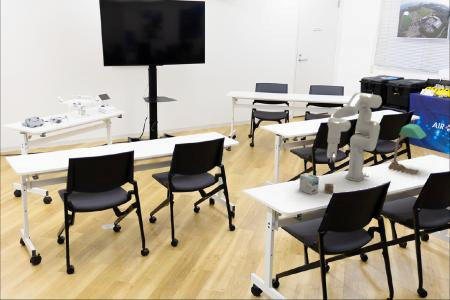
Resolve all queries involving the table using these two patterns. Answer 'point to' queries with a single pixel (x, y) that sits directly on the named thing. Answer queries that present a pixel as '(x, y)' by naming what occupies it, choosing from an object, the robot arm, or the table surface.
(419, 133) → the banker's lamp
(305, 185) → the light bulb box
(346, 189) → the table surface
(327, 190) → the walnut block
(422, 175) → the table surface
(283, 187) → the table surface
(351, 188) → the table surface
